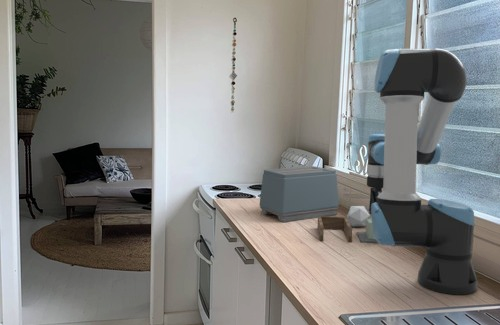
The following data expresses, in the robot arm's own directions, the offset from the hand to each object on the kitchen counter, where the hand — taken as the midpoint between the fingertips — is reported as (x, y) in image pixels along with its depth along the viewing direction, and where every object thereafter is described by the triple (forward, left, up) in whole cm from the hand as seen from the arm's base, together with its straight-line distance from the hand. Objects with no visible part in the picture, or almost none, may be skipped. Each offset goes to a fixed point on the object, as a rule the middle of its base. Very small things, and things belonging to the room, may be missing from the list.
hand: (375, 235), depth 174 cm
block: (0, 0, -1) cm, 1 cm away
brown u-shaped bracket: (+3, +15, -1) cm, 15 cm away
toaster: (+36, +26, -1) cm, 45 cm away
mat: (0, 0, -1) cm, 1 cm away
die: (+18, +4, -1) cm, 18 cm away
